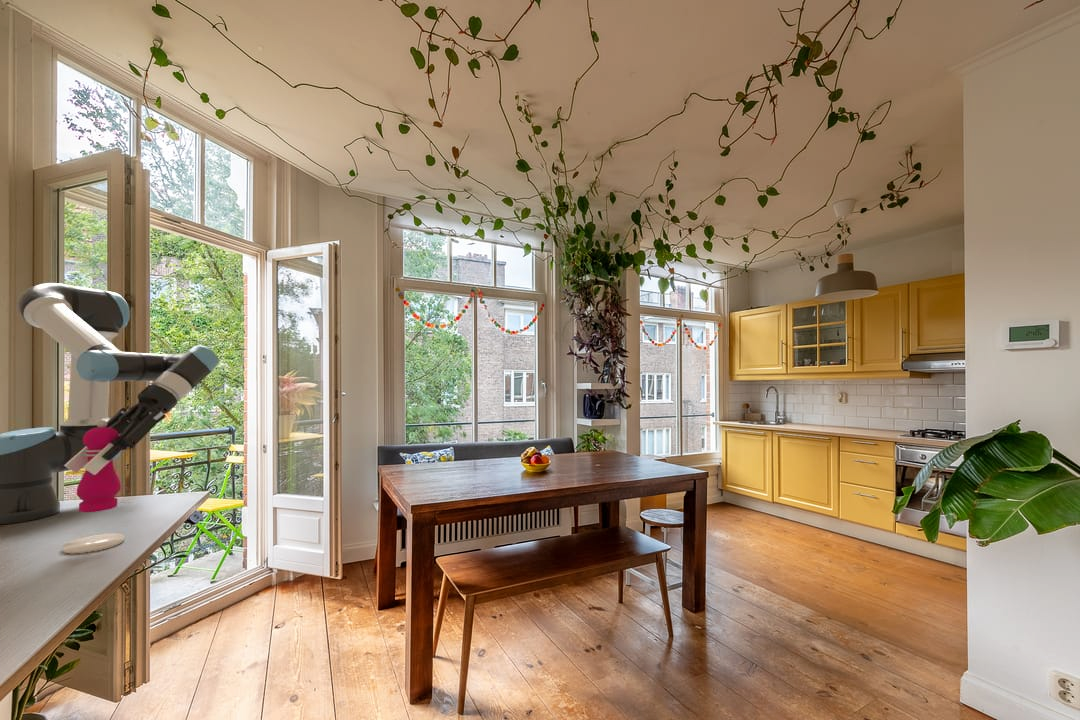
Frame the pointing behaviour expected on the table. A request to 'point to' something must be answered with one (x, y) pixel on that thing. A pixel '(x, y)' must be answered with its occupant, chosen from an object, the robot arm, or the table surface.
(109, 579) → the table surface
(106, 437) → the pepper mill
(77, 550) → the cream dome
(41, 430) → the robot arm
